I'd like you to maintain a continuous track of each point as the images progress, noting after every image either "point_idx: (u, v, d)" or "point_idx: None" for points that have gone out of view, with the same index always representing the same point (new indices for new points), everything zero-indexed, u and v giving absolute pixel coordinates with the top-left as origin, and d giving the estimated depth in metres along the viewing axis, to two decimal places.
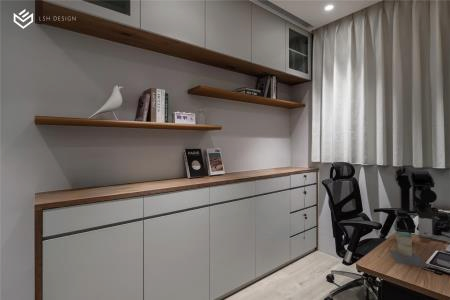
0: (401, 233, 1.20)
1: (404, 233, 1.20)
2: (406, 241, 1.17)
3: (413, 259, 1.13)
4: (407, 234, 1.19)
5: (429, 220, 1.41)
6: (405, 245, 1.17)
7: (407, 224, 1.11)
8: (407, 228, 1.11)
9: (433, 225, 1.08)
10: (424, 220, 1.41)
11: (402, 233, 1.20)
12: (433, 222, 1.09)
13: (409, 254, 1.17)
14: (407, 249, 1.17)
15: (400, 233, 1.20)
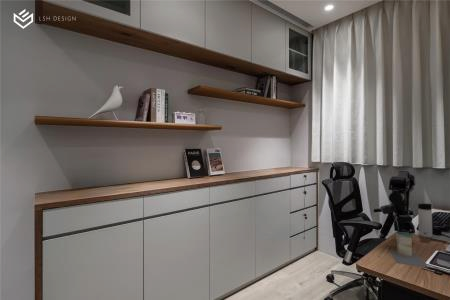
0: (401, 233, 1.20)
1: (404, 233, 1.20)
2: (406, 241, 1.17)
3: (413, 259, 1.13)
4: (407, 234, 1.19)
5: (429, 220, 1.41)
6: (405, 245, 1.17)
7: (396, 222, 1.28)
8: (397, 226, 1.27)
9: None
10: (424, 220, 1.41)
11: (402, 233, 1.20)
12: None
13: (409, 254, 1.17)
14: (407, 249, 1.17)
15: (400, 233, 1.20)
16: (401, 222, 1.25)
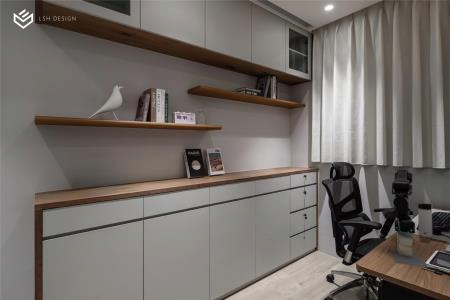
0: (402, 234, 1.19)
1: (405, 233, 1.19)
2: (407, 242, 1.16)
3: (413, 259, 1.13)
4: (408, 235, 1.17)
5: (429, 220, 1.41)
6: (405, 246, 1.17)
7: (399, 228, 1.23)
8: None
9: None
10: (424, 220, 1.41)
11: (403, 233, 1.19)
12: None
13: (409, 254, 1.17)
14: (407, 249, 1.17)
15: (401, 233, 1.19)
16: (403, 227, 1.21)
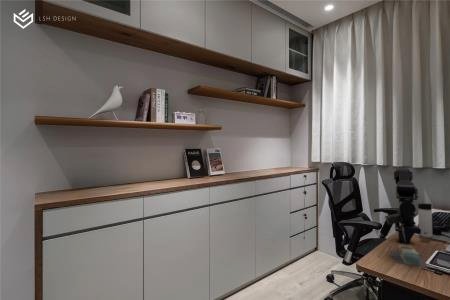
0: (409, 259, 1.09)
1: (413, 258, 1.08)
2: None
3: None
4: (415, 261, 1.08)
5: (429, 220, 1.41)
6: None
7: (403, 234, 1.16)
8: (404, 238, 1.16)
9: None
10: (424, 220, 1.41)
11: (410, 258, 1.09)
12: None
13: None
14: None
15: (408, 258, 1.09)
16: (408, 234, 1.13)
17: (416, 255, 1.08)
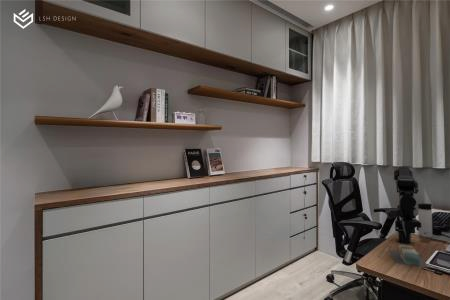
0: (409, 259, 1.09)
1: (413, 258, 1.08)
2: None
3: None
4: (415, 261, 1.08)
5: (429, 220, 1.41)
6: None
7: (403, 228, 1.15)
8: (404, 232, 1.15)
9: None
10: (424, 220, 1.41)
11: (410, 258, 1.09)
12: None
13: None
14: None
15: (408, 258, 1.09)
16: (408, 228, 1.13)
17: (416, 255, 1.08)
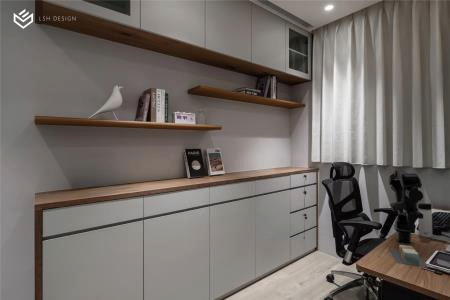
0: (409, 259, 1.09)
1: (413, 258, 1.08)
2: None
3: None
4: (415, 261, 1.08)
5: (429, 220, 1.41)
6: None
7: (407, 220, 1.26)
8: (407, 224, 1.25)
9: None
10: (424, 220, 1.41)
11: (410, 258, 1.09)
12: None
13: None
14: None
15: (408, 258, 1.09)
16: (411, 219, 1.23)
17: (416, 255, 1.08)
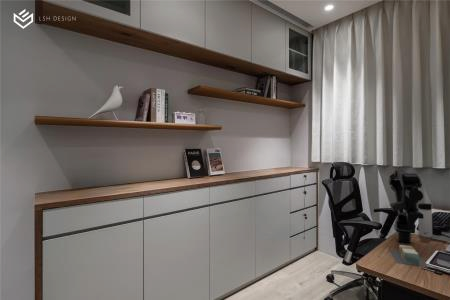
0: (409, 259, 1.09)
1: (413, 258, 1.08)
2: None
3: None
4: (415, 261, 1.08)
5: (429, 220, 1.41)
6: None
7: (407, 220, 1.26)
8: (407, 224, 1.25)
9: None
10: (424, 220, 1.41)
11: (410, 258, 1.09)
12: None
13: None
14: None
15: (408, 258, 1.09)
16: (411, 219, 1.23)
17: (416, 255, 1.08)
